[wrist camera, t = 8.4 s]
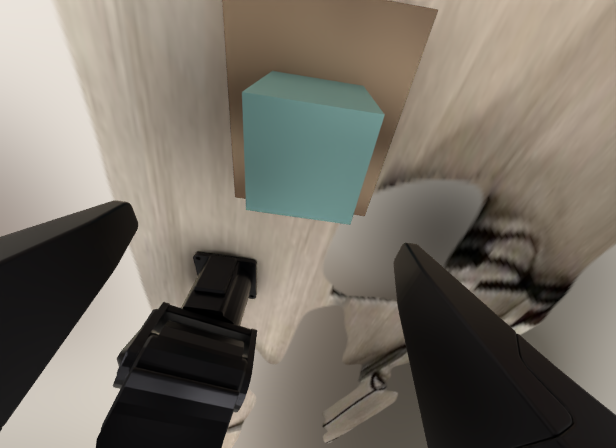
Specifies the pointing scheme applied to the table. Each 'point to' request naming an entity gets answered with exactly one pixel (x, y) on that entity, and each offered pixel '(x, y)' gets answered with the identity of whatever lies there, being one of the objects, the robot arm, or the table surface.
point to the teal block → (307, 145)
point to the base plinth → (326, 58)
